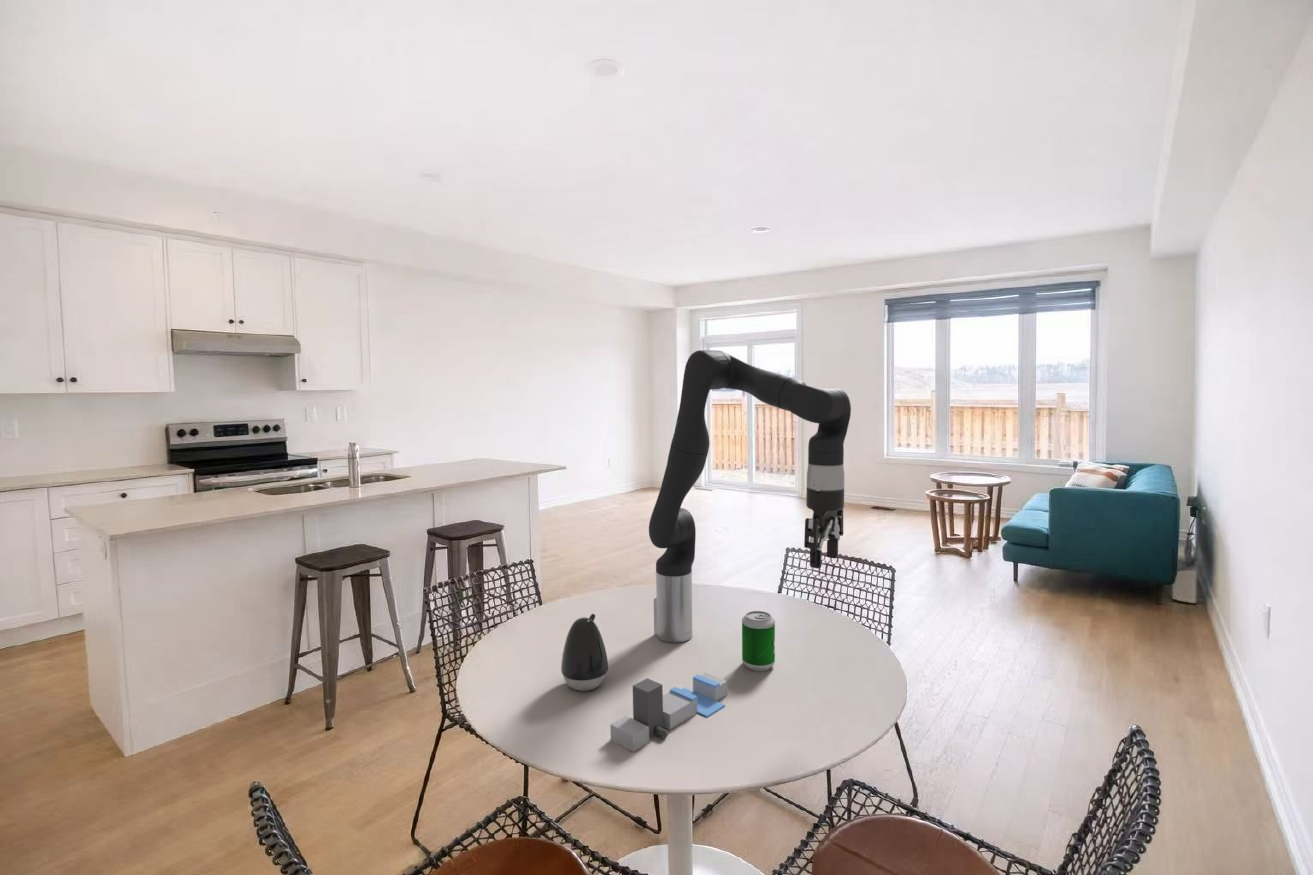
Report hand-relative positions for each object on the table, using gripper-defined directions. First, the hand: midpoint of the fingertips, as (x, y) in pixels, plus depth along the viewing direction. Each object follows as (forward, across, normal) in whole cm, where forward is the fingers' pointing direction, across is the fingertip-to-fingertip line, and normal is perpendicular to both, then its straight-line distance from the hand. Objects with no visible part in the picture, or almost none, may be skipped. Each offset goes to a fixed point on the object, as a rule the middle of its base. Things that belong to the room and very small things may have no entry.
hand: (824, 562), depth 135 cm
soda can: (+29, -4, -17) cm, 34 cm away
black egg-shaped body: (+29, +27, -43) cm, 58 cm away
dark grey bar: (+28, +34, -19) cm, 48 cm away
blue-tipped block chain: (+28, +26, -20) cm, 44 cm away
